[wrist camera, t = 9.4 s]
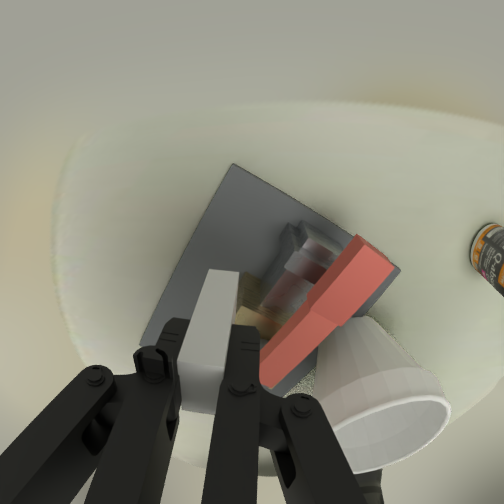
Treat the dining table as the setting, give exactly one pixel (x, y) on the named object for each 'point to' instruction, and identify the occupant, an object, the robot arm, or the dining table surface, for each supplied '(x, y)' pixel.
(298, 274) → the valve
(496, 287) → the pill bottle
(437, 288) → the dining table surface
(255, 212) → the mat
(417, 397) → the cup
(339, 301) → the lever
